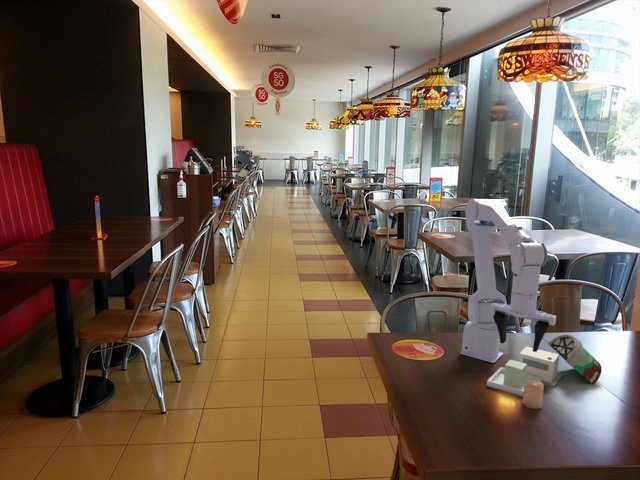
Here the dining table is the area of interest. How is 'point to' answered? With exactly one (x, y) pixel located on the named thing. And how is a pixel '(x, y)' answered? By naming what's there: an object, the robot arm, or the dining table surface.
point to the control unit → (541, 365)
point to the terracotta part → (533, 394)
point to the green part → (515, 374)
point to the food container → (577, 356)
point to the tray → (497, 383)
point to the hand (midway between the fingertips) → (518, 346)
